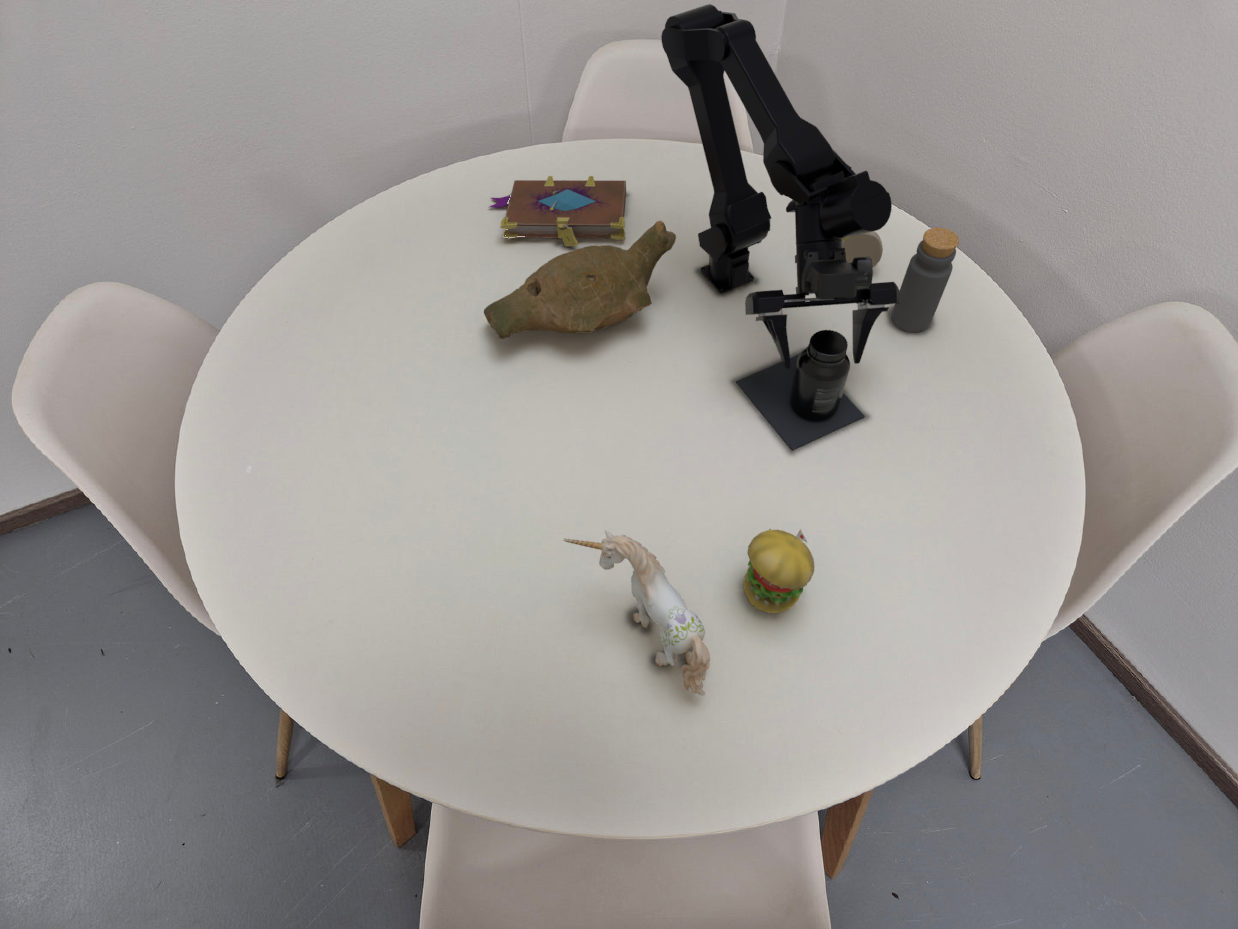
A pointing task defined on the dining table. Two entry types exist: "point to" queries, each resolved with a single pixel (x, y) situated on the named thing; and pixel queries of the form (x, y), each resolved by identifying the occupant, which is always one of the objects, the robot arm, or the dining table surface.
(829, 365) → the supplement bottle
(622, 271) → the sculpture
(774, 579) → the hamburger
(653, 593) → the unicorn figurine
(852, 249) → the mug
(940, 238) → the bottle
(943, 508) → the dining table surface
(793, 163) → the robot arm
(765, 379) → the mat
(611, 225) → the book
